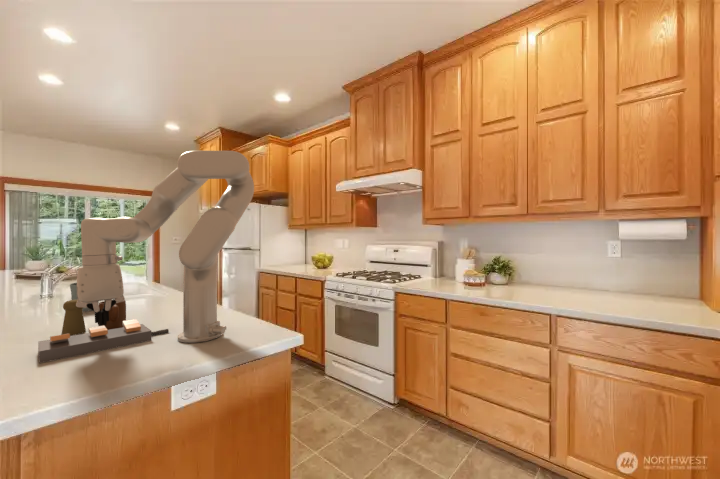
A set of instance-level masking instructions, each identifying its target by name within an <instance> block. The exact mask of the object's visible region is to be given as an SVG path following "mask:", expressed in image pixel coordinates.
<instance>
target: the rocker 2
mask: <svg viewBox="0 0 720 479" xmlns="http://www.w3.org/2000/svg"><path fill="white" fill-rule="evenodd" d="M122 325H123V327H124V329H125V331H126V333H127V332H133V331H138V330H141V326H140V322H139V320H138V319H137V318H134V319H128V320H127V319H126V321H123V322H122Z"/></svg>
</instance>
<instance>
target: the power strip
mask: <svg viewBox="0 0 720 479" xmlns="http://www.w3.org/2000/svg"><path fill="white" fill-rule="evenodd" d="M139 324H140V323H139ZM140 326H141V330H138V331H133V332H127V333H126V331H125V329H124V327H122V328H116V329H110V330H108V334H106V335H100V336H94V337H91V336H90V334H89V332H88V333H86V332H85V333H82V334H78V335H72V336H70V338H68V341H62V342H56V343H52V341H50V339H46V340H40V341H38V342H37V343H38V344H37V345H38V351H37V352H38V363H39V364H43V363H48V362H53V361H57V360H63V359H66V358H71V357H77V356H82V355H87V354H92V353H96V352H97V353H98V352H101V351H107V350H110V349H111V350H112V349H115V348H116V349H117V348H121V347H125V346H132V345H135V344H136V345H137V344H141V343H145V342H150V341H151V342H152V336H157V335H162V334H168V333H169V328H165V329H160V330H155V331H152V330H151V329H150V328H148V326H146V325H144V324H143V323H141V324H140Z"/></svg>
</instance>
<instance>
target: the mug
mask: <svg viewBox="0 0 720 479" xmlns="http://www.w3.org/2000/svg"><path fill="white" fill-rule="evenodd" d="M103 307H104V301H99V308H100V309H101V311H102V308H103ZM123 321H127V302H126V299H125V300H124V301H122V302H119V303H116V304H115V305H113V306H112V307H111V308H110V310H109V321H107V325H102V326H105V327H106V328H107V330H110V329H116V328H122V327H123V325H122V322H123ZM97 325H98V324H97ZM98 326H99V325H98ZM98 326H97V327H98Z"/></svg>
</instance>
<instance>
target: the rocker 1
mask: <svg viewBox="0 0 720 479" xmlns="http://www.w3.org/2000/svg"><path fill="white" fill-rule="evenodd" d="M68 338H70V334H63V335H61V334H57V335H52V336H51V335H50V336H49V340H50V341H52V343H56V342H62V341H68Z"/></svg>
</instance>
